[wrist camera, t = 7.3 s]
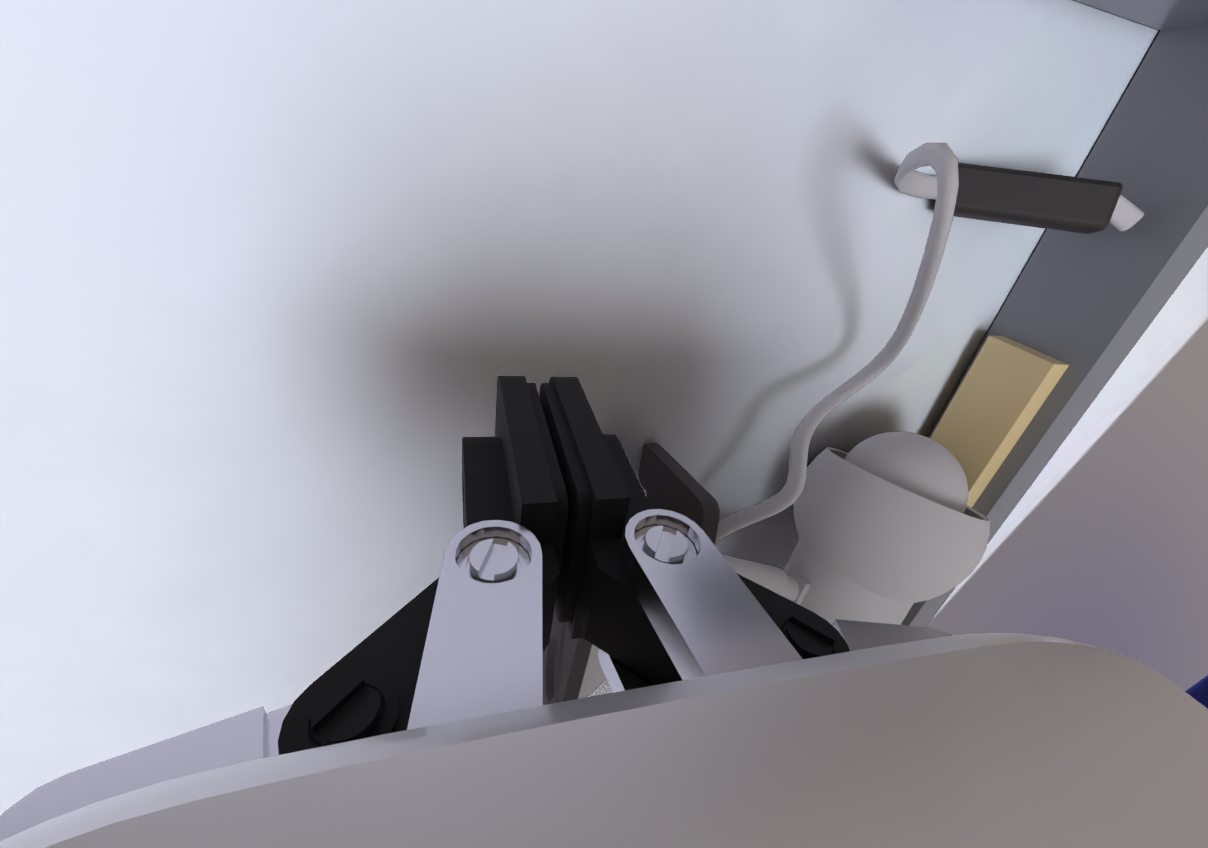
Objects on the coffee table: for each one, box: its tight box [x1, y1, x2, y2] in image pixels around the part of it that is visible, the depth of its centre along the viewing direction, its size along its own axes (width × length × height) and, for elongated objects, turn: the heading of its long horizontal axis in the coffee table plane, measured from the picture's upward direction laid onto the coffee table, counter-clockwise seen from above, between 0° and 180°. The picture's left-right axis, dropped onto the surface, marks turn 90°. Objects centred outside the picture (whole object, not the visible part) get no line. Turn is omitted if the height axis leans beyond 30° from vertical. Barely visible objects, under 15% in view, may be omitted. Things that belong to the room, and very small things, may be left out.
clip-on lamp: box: [543, 143, 1144, 705], centre depth 13 cm, size 12×6×18 cm
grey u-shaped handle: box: [901, 0, 1208, 627], centre depth 15 cm, size 24×10×3 cm, turn 171°
